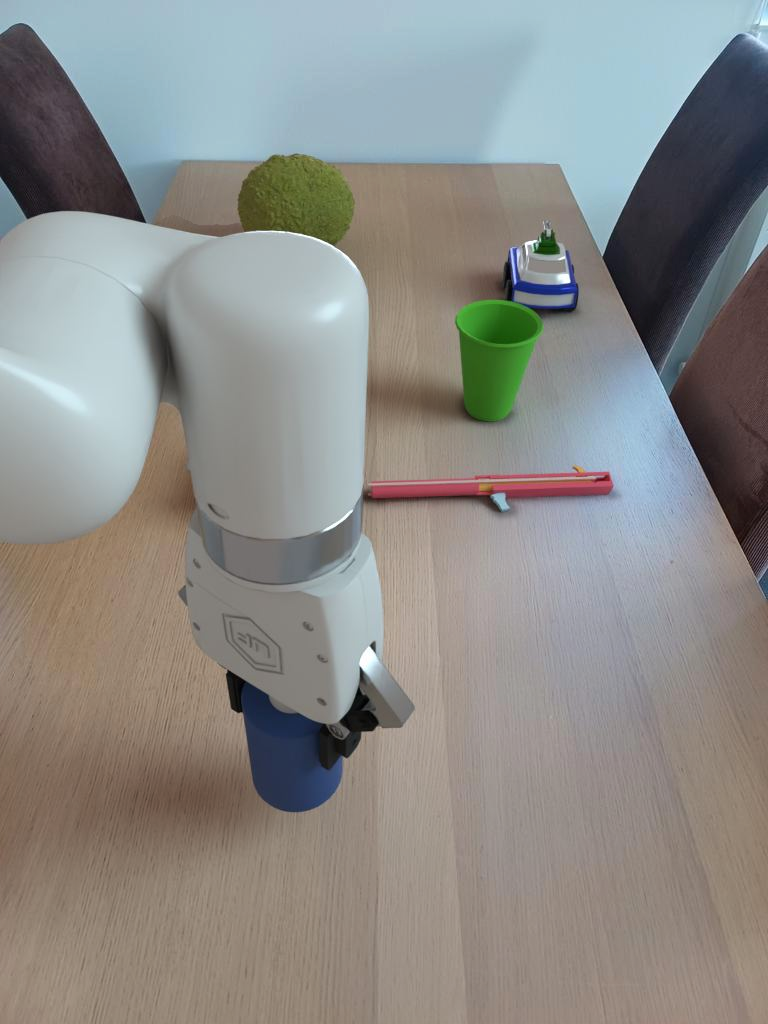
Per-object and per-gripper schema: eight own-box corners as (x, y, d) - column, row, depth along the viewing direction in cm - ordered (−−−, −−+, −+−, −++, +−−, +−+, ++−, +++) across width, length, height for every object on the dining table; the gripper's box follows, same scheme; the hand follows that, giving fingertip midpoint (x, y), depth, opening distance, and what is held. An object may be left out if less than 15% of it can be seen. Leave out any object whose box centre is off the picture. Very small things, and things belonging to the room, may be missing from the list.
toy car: (567, 277, 113) (579, 211, 106) (577, 322, 104) (591, 253, 97) (500, 274, 113) (509, 208, 106) (505, 319, 104) (514, 250, 98)
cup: (444, 428, 87) (452, 340, 80) (450, 381, 94) (458, 295, 86) (527, 437, 86) (543, 349, 79) (528, 388, 93) (543, 303, 85)
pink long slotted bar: (611, 512, 79) (602, 471, 82) (618, 501, 78) (608, 460, 80) (369, 520, 78) (367, 478, 80) (370, 510, 76) (367, 467, 78)
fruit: (290, 218, 125) (335, 132, 115) (340, 283, 121) (391, 200, 111) (204, 214, 113) (245, 118, 103) (257, 286, 109) (305, 193, 99)
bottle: (306, 830, 51) (301, 738, 43) (233, 780, 53) (216, 684, 45) (360, 758, 54) (364, 662, 47) (289, 715, 56) (282, 616, 49)
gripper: (86, 482, 38) (147, 697, 50) (396, 652, 32) (378, 850, 44) (196, 405, 43) (227, 619, 55) (484, 540, 36) (446, 748, 49)
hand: (294, 720), depth 49 cm, fingers closed on bottle, 6 cm apart
